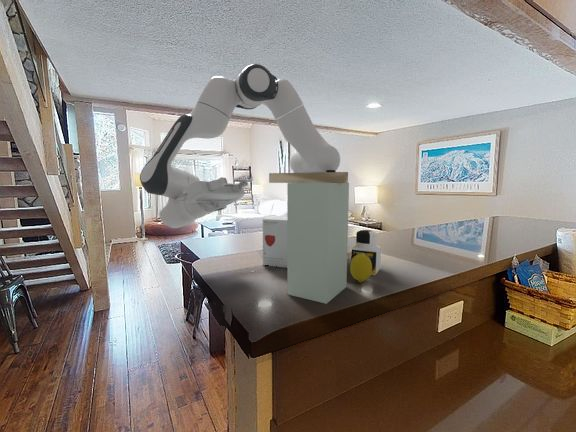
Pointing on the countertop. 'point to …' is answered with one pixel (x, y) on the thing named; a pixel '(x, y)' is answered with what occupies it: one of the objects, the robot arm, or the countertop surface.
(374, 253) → the medicine bottle
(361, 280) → the lemon
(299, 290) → the pedestal
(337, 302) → the countertop surface
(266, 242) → the supplement box
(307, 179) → the birch bar
